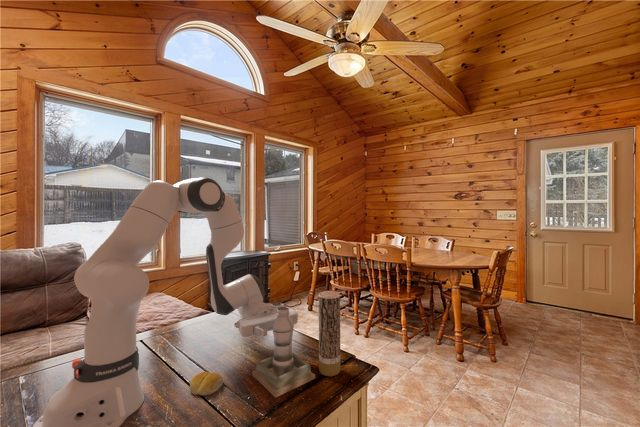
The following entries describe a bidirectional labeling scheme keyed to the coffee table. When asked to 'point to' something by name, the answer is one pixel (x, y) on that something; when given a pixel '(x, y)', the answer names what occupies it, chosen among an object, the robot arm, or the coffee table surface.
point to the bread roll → (205, 383)
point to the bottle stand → (283, 376)
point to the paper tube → (329, 333)
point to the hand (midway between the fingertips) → (278, 329)
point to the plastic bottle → (283, 342)
